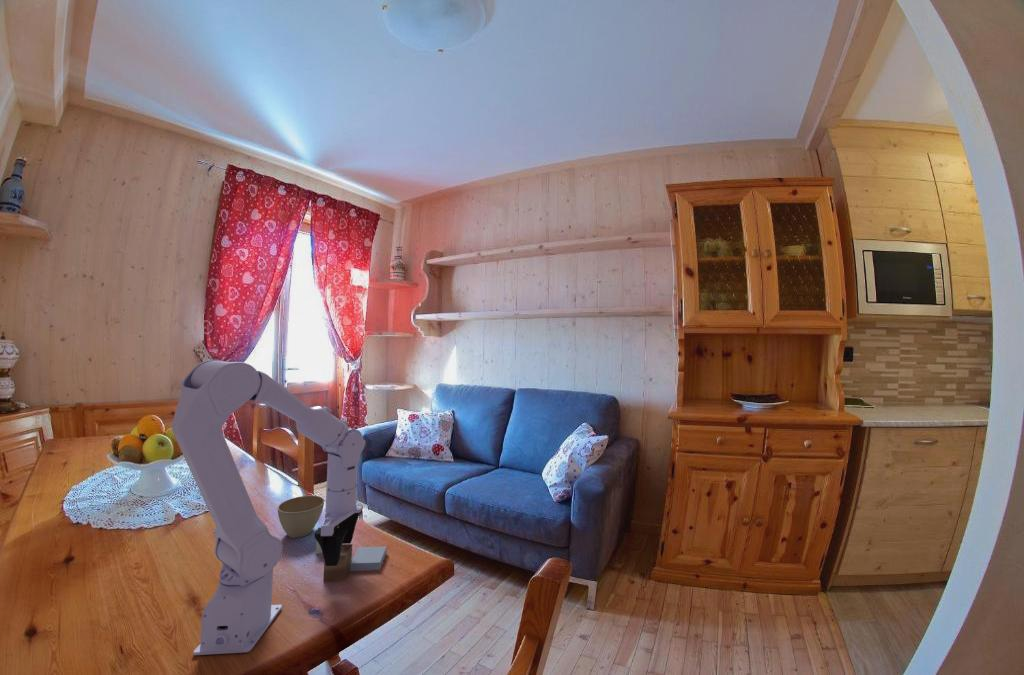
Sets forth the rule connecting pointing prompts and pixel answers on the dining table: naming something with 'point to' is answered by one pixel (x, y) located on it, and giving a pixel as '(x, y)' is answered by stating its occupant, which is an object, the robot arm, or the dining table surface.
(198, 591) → the dining table surface
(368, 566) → the slate slab
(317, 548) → the sage block
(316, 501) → the flower pot
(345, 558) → the walnut block
